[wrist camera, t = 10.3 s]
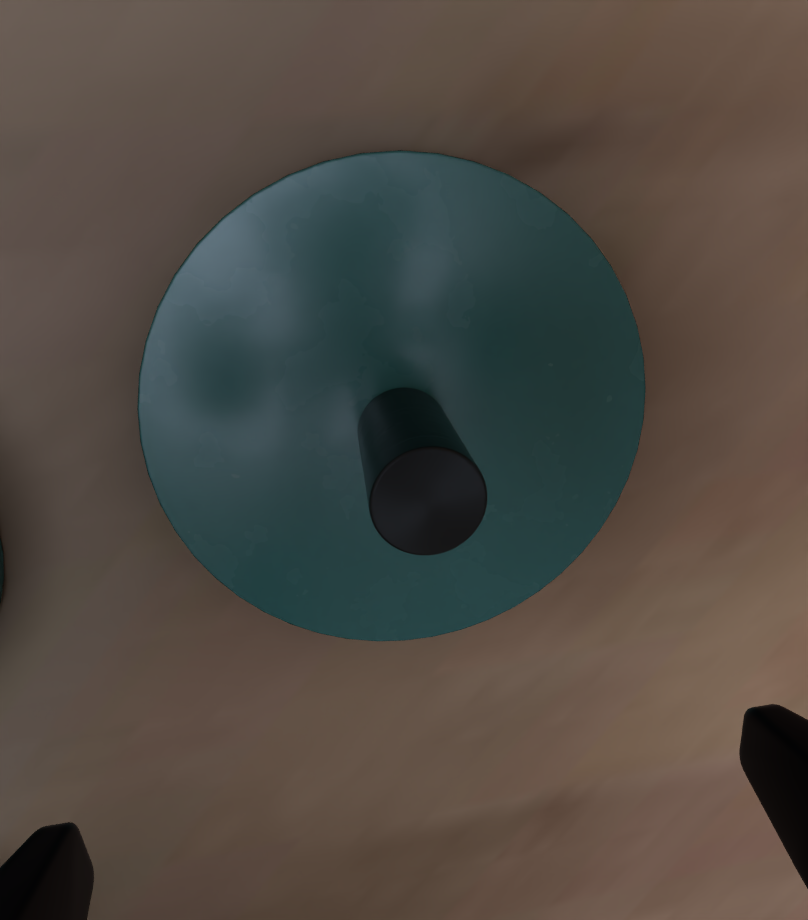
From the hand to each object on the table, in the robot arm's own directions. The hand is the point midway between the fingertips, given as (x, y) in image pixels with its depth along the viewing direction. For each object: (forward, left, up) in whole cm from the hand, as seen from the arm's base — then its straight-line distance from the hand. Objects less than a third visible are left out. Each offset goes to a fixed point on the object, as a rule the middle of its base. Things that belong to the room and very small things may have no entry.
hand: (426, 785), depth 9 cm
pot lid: (0, -2, -12) cm, 12 cm away
